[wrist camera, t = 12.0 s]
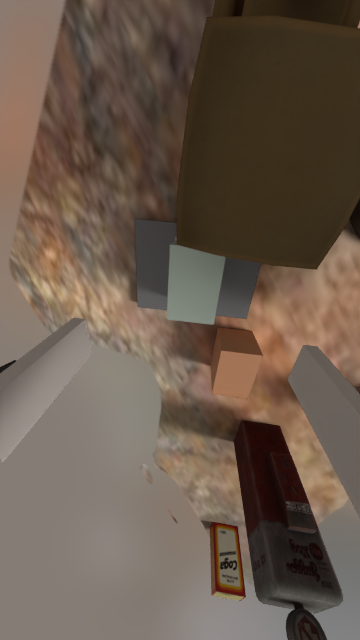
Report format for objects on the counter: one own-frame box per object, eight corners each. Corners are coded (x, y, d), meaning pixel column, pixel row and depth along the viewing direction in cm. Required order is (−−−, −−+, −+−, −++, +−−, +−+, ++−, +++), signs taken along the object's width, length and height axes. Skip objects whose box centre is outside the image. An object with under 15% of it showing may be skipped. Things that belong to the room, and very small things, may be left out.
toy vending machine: (283, 419, 43) (392, 685, 19) (268, 447, 49) (337, 682, 24) (244, 414, 44) (298, 665, 19) (233, 442, 49) (265, 667, 24)
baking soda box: (237, 526, 74) (245, 599, 60) (233, 532, 77) (240, 602, 63) (213, 522, 74) (215, 593, 60) (210, 527, 77) (211, 597, 63)
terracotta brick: (217, 326, 34) (221, 350, 28) (252, 330, 34) (263, 355, 28) (210, 365, 38) (211, 393, 32) (240, 369, 38) (248, 398, 32)
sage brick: (177, 238, 26) (169, 244, 20) (221, 242, 26) (227, 249, 20) (173, 299, 31) (166, 319, 24) (211, 303, 30) (213, 324, 24)
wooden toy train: (261, 245, 27) (331, 276, 13) (182, 231, 27) (160, 245, 13) (338, 17, 18) (1004, -967, 3) (216, -2, 18) (283, -1005, 3)
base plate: (137, 219, 27) (134, 219, 26) (266, 230, 26) (270, 230, 25) (140, 303, 33) (137, 307, 32) (244, 314, 32) (246, 319, 31)
